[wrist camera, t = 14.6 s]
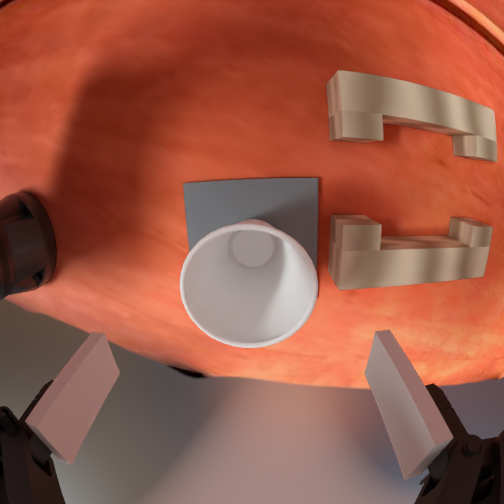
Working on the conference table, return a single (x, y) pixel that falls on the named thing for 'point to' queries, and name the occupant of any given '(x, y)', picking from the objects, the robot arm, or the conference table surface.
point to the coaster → (255, 207)
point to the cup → (249, 284)
